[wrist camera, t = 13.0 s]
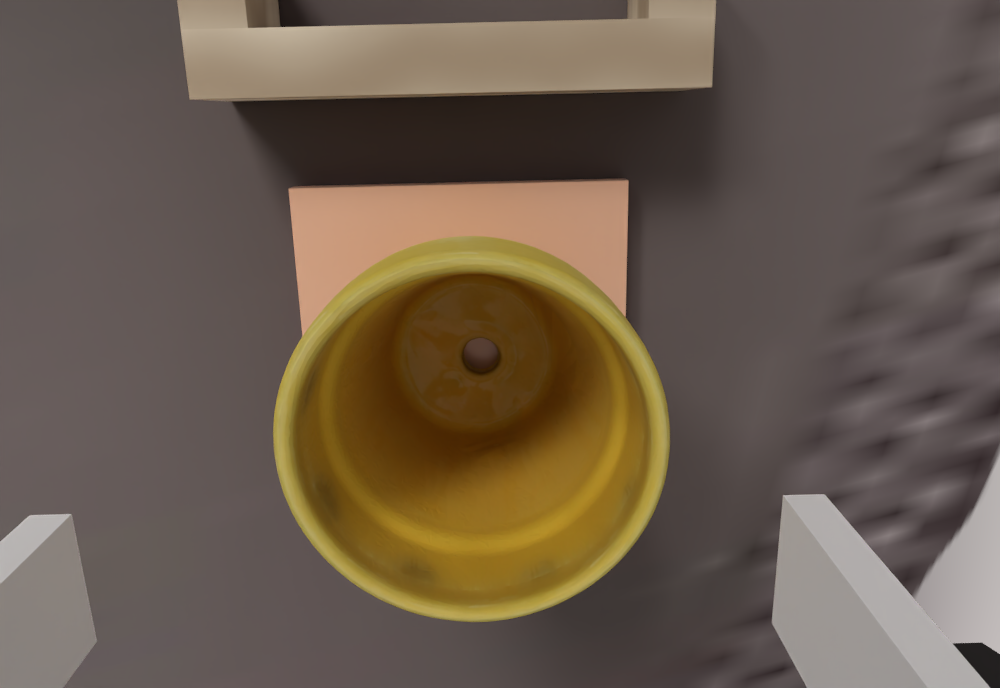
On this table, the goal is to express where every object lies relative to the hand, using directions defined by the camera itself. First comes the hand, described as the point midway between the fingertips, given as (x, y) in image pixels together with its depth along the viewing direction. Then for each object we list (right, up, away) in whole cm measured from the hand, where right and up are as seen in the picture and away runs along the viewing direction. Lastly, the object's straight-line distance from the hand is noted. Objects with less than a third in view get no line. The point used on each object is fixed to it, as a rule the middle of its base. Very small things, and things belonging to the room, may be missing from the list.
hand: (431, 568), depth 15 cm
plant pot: (0, +4, +15) cm, 16 cm away
